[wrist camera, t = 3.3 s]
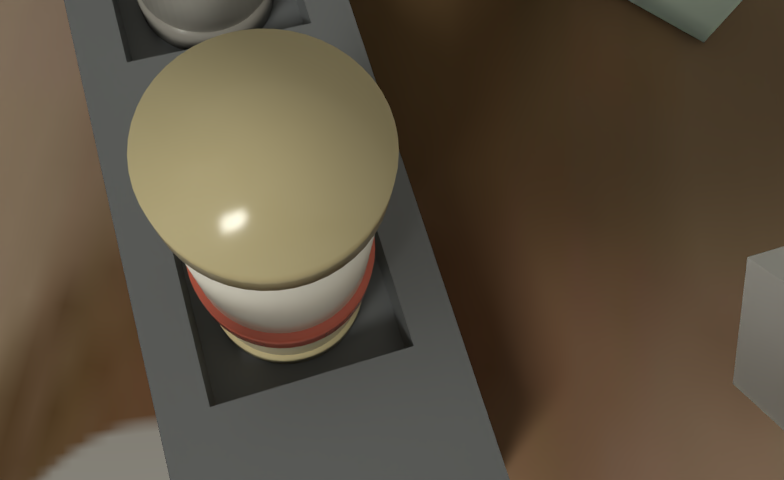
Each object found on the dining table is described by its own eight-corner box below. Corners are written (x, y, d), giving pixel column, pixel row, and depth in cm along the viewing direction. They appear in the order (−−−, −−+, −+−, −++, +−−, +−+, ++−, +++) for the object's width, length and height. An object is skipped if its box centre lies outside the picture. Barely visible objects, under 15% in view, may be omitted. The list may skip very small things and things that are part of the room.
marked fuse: (180, 314, 21) (64, 183, 11) (266, 191, 22) (228, -18, 12) (311, 395, 20) (307, 333, 11) (390, 267, 22) (450, 110, 12)
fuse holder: (492, 491, 21) (514, 494, 19) (212, 587, 20) (197, 604, 17) (274, -172, 27) (270, -234, 25) (48, -135, 26) (20, -196, 23)
